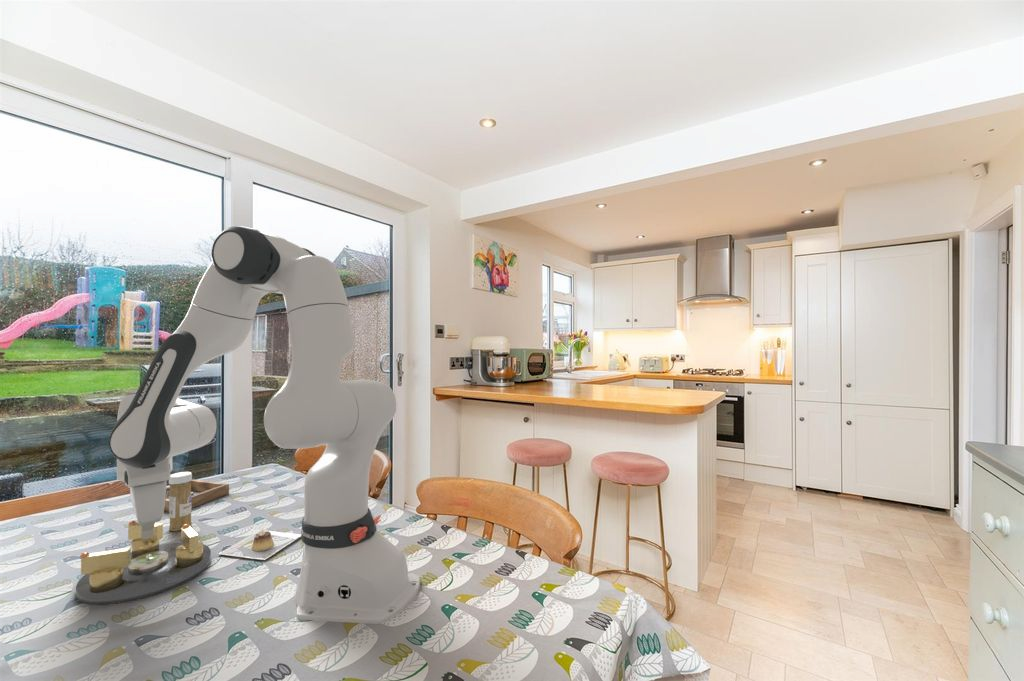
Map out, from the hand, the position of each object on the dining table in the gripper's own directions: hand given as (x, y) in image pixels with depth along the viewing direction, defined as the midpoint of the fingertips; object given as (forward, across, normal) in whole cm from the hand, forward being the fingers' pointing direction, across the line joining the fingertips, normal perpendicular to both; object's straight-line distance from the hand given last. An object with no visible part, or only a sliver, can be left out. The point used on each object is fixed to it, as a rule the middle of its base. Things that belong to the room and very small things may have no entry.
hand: (145, 531), depth 88 cm
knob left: (+4, +10, -6) cm, 13 cm away
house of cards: (+7, -40, +9) cm, 42 cm away
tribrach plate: (+6, +7, 0) cm, 10 cm away
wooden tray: (+6, -37, +12) cm, 40 cm away
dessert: (+7, +9, +20) cm, 23 cm away
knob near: (+4, +11, +6) cm, 13 cm away
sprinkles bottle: (+7, -16, +8) cm, 19 cm away
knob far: (+4, 0, 0) cm, 4 cm away
